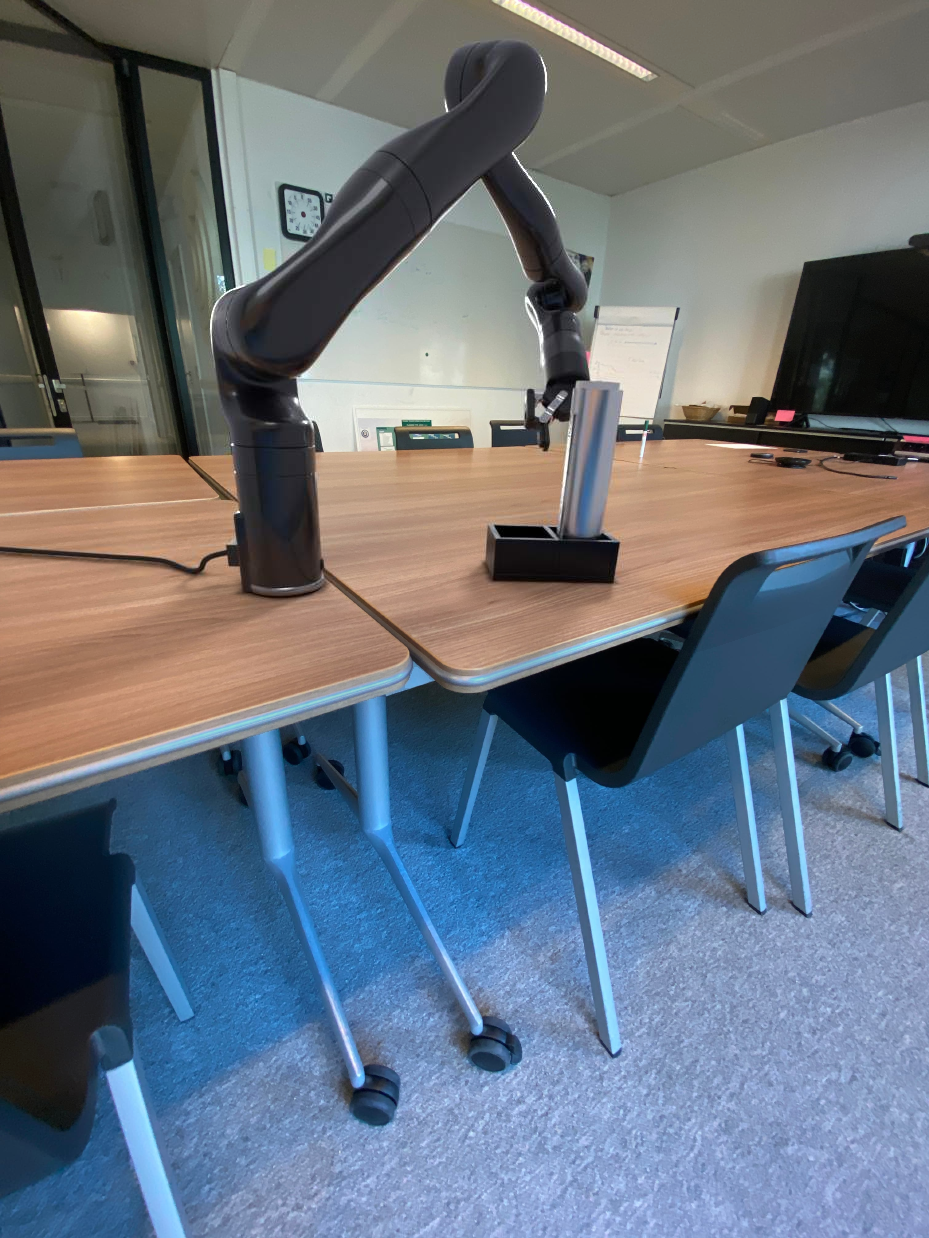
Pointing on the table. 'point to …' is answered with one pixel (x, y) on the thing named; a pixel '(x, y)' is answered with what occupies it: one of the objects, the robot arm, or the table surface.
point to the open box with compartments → (548, 555)
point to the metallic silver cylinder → (588, 459)
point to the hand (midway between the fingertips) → (574, 449)
